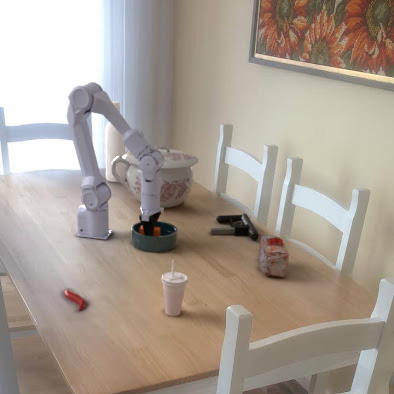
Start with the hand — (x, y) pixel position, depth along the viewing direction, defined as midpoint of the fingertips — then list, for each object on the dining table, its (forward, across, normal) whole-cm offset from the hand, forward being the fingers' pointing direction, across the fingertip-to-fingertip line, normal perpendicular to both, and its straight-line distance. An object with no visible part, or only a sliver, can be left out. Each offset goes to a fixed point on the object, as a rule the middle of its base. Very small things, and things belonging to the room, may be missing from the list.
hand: (149, 236), depth 179 cm
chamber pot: (+3, +41, +6) cm, 41 cm away
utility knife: (+1, 0, -2) cm, 2 cm away
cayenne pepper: (+3, -43, +10) cm, 44 cm away
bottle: (+3, +64, +28) cm, 70 cm away
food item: (+3, -9, -38) cm, 40 cm away
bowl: (+2, 0, -2) cm, 3 cm away
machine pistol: (+3, +20, -24) cm, 32 cm away
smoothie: (+3, -43, -16) cm, 46 cm away
